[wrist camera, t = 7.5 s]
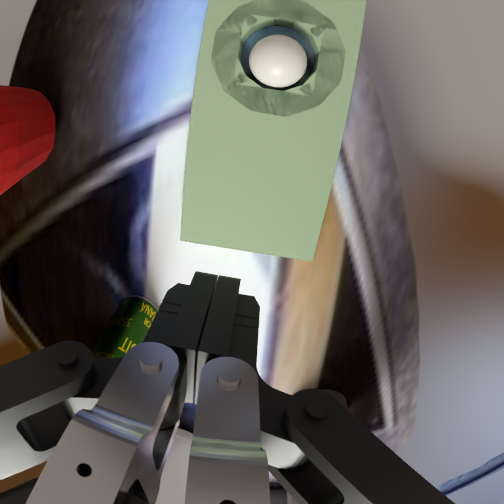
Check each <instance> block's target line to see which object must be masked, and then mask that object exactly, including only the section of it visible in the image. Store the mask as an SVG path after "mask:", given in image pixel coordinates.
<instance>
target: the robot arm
mask: <svg viewBox="0 0 504 504" xmlns="http://www.w3.org/2000/svg"><path fill="white" fill-rule="evenodd" d="M217 279H218V281H217ZM240 280H241V279H237V278H232V277H226V276H220V275H219V277H218V275H214V274H208V273H202V272H197V271H196V272H195V274H194V277H193V279H192V282H191V284H190V285H185V284H180V283H178V284H176V285H175V286H173V287H172V288H171V289H169V290H168V291H167V293H166V295H165V297H164V299H163V302H162V303H161V305H160V307H159V309H158V311H157V313H156V315H155V317H154V319H153V322H152V324H151V326H150V328H149V330H148V332H147V334H146V336H145V338H144V341H143V343H140V344H137V345H135V346H133V347H132V348H130V349H129V350H128V351H127V352H126V354H125V355H124V356H123V357H118V358H93V355H92V353H91V351H90V349H89V348H88V347H87V346H85V345H84V344H82V343H80V342H76V341H63V342H60V343H57V344H54V345H52V346H49V347H47V348H44V349H42V350H39V351H37V352H34V353H32V354H29V355H27V356H24V357H22V358H19V359H17V360H14V361H12V362H9V363H7V364H4V365H2V366H0V480H1V479H4V478H7V477H9V476H12V475H14V474H16V473H19V472H21V471H24V470H26V469H28V468H31V467H33V466H35V465H38V464H40V463H42V462H44V461H47V460H48V462H47V463H46V466H45V467H44V469H43V471H42V473H41V475H40V477H38V478H34V479H31V480H29V481H27V482H24V483H22V484H20V485H18V486H16V487H14V488H11V489H9V490H7V491H5V492H2V493H0V504H155V503H156V500H157V497H158V493H159V488H160V480H161V475H162V472H163V469H164V466H165V463H166V460H167V457H168V454H169V452H170V449H171V446H172V443H173V440H174V437H175V434H176V432H177V429H178V426H179V422H180V417H181V414H182V410H183V406H184V402H187V403H192V404H193V400H194V396H195V404H197V405H196V413H195V421H194V430H193V438H192V443H191V448H190V455H189V464H188V473H187V483H186V494H185V504H270V488H269V471H270V472H271V474H272V475H273V476H274V477H275V478H276V479H277V481H278V482H279V483H280V484H281V485H282V486H283V487H284V489H285V490H286V491H287V504H455V503H453V502H452V501H451V500H450V499H448V498H447V497H446V496H445V495H444V494H442V493H441V492H440V491H439V490H437V489H436V488H435V487H434V486H433V485H431V484H430V483H429V482H428V481H427V480H425V479H424V478H423V477H422V476H421V475H420V474H418V473H417V472H416V471H415V470H414V469H412V468H411V467H410V466H409V465H408V464H407V463H406V462H404V461H403V460H402V459H401V458H400V457H399V456H397V455H396V454H395V453H394V452H393V451H392V450H391V449H390V448H388V447H387V446H386V445H385V444H384V443H383V442H382V441H381V440H380V439H378V438H377V437H376V436H375V435H374V434H373V433H372V432H371V431H370V430H368V429H367V428H366V427H365V426H364V425H363V424H362V423H361V422H360V421H359V420H358V419H356V418H355V417H354V416H353V415H352V414H351V413H350V412H349V411H348V409H347V403H346V399H345V397H344V396H343V395H342V394H341V393H339V392H337V391H334V390H329V389H317V390H315V389H307V390H302V391H299V392H297V393H295V394H294V395H293V396H292V395H289V394H286V393H284V392H281V391H279V390H276V389H274V388H272V387H271V386H269V385H268V384H266V383H265V382H264V381H263V380H262V379H261V377H260V376H259V374H258V371H257V368H256V360H257V345H258V328H259V312H260V306H259V305H258V303H257V301H256V299H255V297H254V296H248V295H242V294H238V292H239V286H240ZM195 392H196V395H195Z"/></svg>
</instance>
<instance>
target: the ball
mask: <svg viewBox="0 0 504 504" xmlns="http://www.w3.org/2000/svg"><path fill="white" fill-rule="evenodd" d="M249 65H250V69H251V71H252V73H253V75H254V76H255V77H256V78H257V79H258V80H259V81H260V82H262V83H263V84H265V85H268V86H271V87H279V88H280V87H287V86H290V85H292V84H294V83H296V82H297V81H298V80H299V79H300V78H301V77H302V76H303V74H304V73H305V70H306V67H307V57H306V53H305V51H304V49H303V48H302V46H301V45H300V44H299V43H298V42H297V41H296V40H294V39H292V38H290V37H288V36H284V35H270V36H267V37H264V38H262V39H261V40H259V41H258V42H257V43H256V44H255V45H254V47H253V48H252V50H251V52H250V56H249Z"/></svg>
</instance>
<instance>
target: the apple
mask: <svg viewBox="0 0 504 504" xmlns="http://www.w3.org/2000/svg"><path fill="white" fill-rule="evenodd" d="M54 138H55V114H54V112H53V109H52V107H51V105H50V102H49V101H48V100H47V99H46V97H45V96H44V95H43V94H42V93H41V92H39V91H36V90H33V89H29V88H22V87H14V86H0V195H1V194H2V193H3V192H5V191H6V190H7V189H9V188H10V187H11V186H12V185H14V184H15V183H16V182H18V181H19V180H20V179H22V178H23V177H24V176H25V175H27V174H28V173H29V172H31V171H32V170H33V169H35V168H36V167H38V166H39V165H40V164H42V163H43V162H44V161H46V159H47V157H48V155H49V154H50V152H51V150H52V149H53V144H54Z"/></svg>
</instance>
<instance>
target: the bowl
mask: <svg viewBox="0 0 504 504" xmlns="http://www.w3.org/2000/svg"><path fill="white" fill-rule="evenodd" d="M270 504H287V491H286V490H285V489H282V488H279V489H271V490H270Z"/></svg>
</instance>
